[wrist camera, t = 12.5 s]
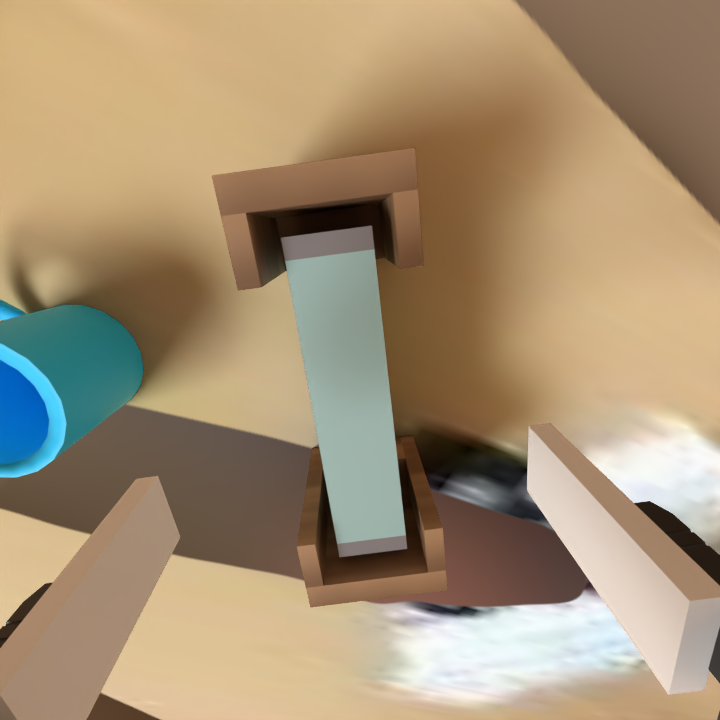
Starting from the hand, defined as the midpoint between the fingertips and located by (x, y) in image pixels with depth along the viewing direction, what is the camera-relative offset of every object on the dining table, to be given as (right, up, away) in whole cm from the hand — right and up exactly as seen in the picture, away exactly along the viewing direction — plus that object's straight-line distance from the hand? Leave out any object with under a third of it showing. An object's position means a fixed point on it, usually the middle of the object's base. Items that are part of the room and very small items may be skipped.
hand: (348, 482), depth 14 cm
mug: (-21, +6, +14) cm, 25 cm away
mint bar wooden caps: (0, +4, +14) cm, 15 cm away
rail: (0, +3, +12) cm, 12 cm away
